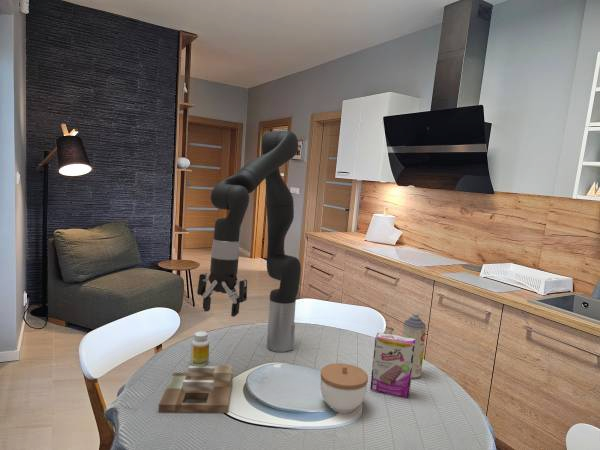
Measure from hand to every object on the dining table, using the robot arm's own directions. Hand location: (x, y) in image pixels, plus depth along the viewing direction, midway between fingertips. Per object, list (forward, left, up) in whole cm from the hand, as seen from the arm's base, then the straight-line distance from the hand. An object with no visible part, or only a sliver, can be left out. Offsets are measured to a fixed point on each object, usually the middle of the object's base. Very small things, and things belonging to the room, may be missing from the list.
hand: (220, 313), depth 116 cm
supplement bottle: (+7, -13, -21) cm, 26 cm away
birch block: (-2, +3, -19) cm, 19 cm away
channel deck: (+4, +6, -21) cm, 22 cm away
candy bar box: (-50, +3, -21) cm, 55 cm away
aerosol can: (-60, -8, -21) cm, 64 cm away
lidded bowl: (-34, +11, -21) cm, 42 cm away
